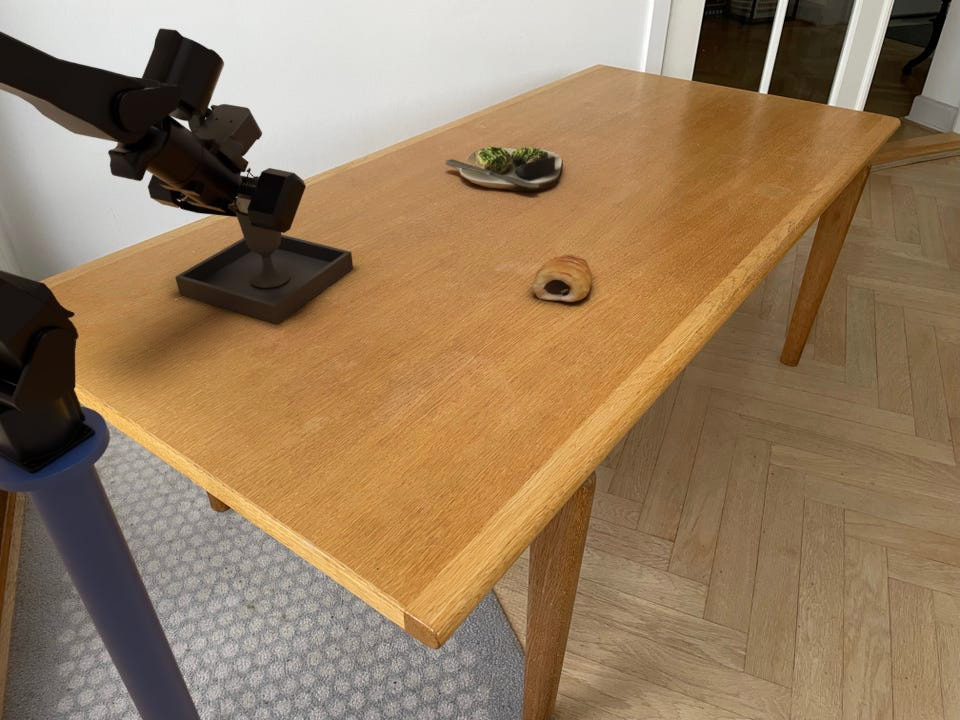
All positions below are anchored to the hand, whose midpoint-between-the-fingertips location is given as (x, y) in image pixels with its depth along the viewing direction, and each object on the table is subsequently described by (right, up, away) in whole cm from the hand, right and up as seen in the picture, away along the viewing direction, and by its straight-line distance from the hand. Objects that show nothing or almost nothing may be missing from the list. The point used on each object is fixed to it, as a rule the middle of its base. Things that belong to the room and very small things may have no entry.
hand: (268, 218), depth 88 cm
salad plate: (+31, +14, +34) cm, 48 cm away
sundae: (-1, -7, +3) cm, 8 cm away
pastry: (+36, -8, +3) cm, 37 cm away
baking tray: (-1, -7, +4) cm, 8 cm away
